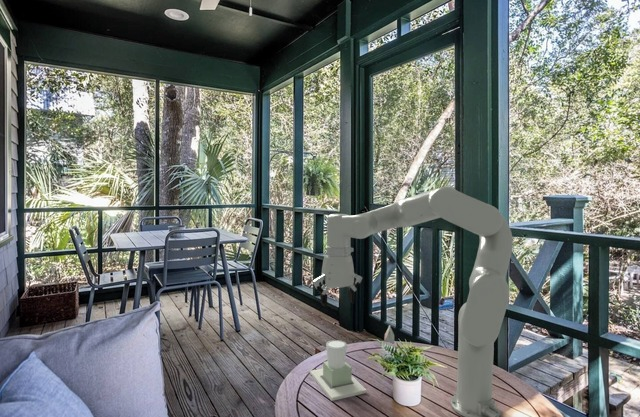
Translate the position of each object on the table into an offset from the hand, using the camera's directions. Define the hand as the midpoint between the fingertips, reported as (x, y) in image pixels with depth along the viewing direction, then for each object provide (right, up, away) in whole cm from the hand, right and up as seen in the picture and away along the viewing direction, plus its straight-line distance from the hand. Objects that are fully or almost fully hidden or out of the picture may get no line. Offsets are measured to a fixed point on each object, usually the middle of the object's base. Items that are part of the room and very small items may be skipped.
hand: (337, 304), depth 122 cm
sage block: (0, -25, +1) cm, 25 cm away
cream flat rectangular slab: (0, -26, +1) cm, 26 cm away
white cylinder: (0, -20, +1) cm, 20 cm away
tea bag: (+21, -26, +25) cm, 41 cm away
